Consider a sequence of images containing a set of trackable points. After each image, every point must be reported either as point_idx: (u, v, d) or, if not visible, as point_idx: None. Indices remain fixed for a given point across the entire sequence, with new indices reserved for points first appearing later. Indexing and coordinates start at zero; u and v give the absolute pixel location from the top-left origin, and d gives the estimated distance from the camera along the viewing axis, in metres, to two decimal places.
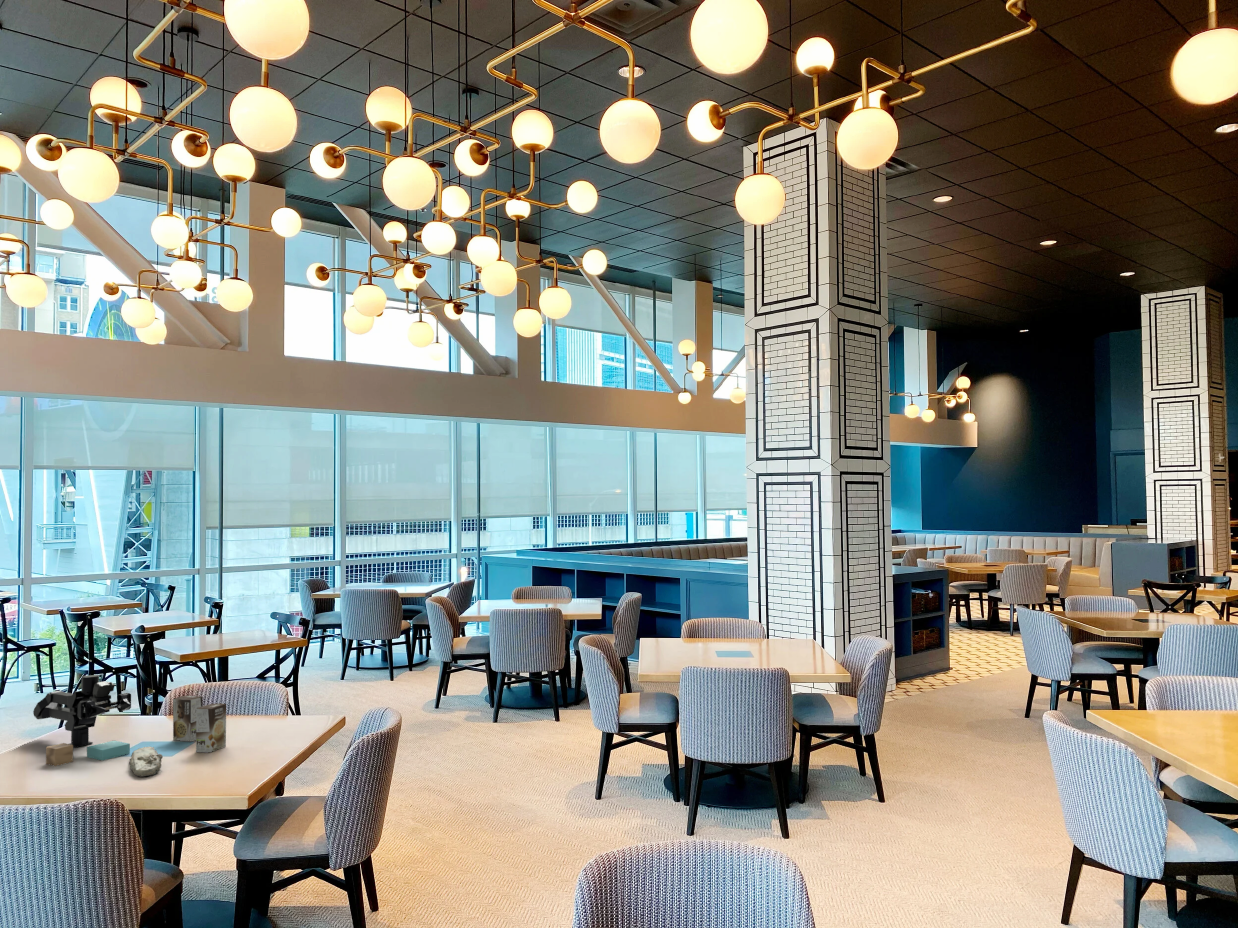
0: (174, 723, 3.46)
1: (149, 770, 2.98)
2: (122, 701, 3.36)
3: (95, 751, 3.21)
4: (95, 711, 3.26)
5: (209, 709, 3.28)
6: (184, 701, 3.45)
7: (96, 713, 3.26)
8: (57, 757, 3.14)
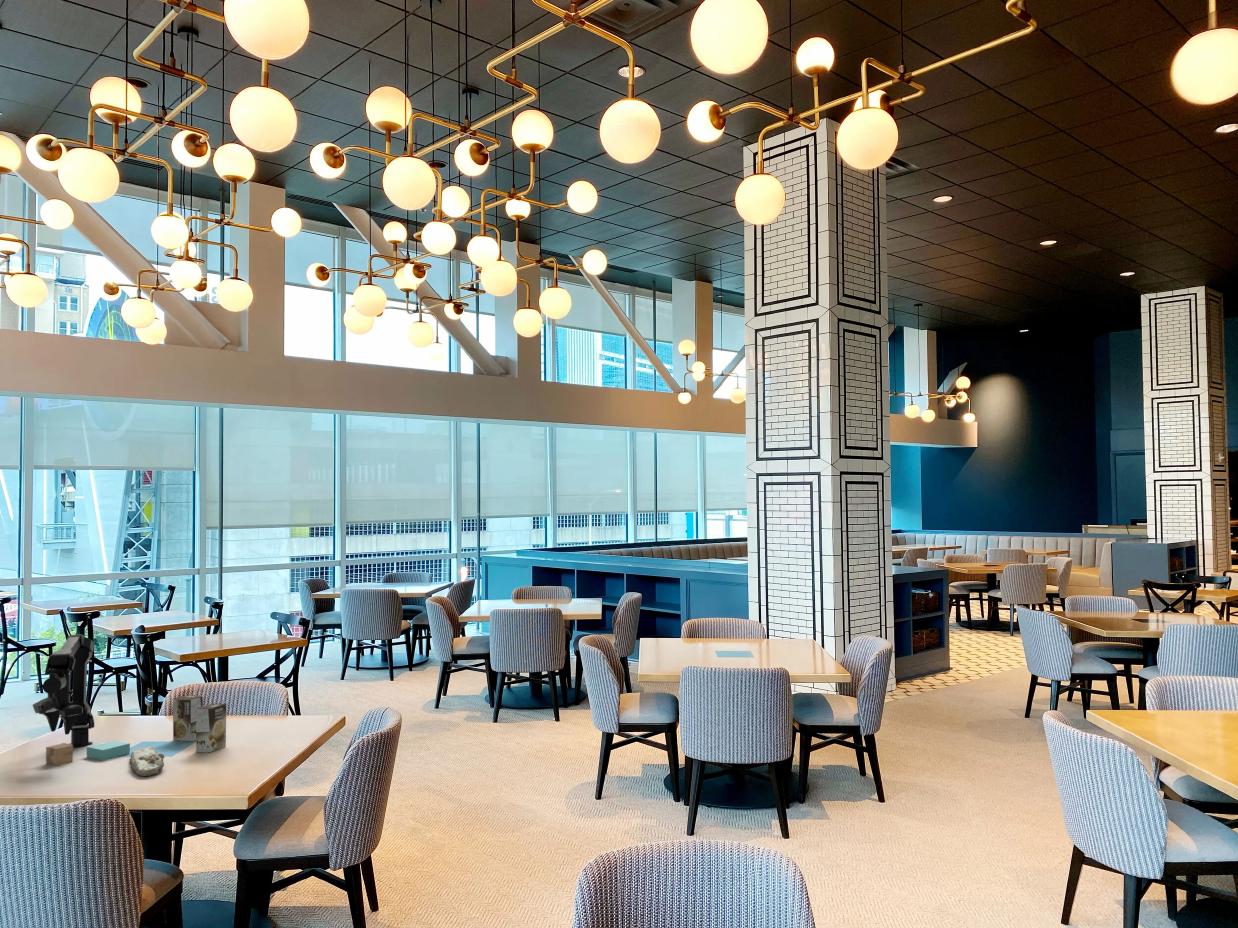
0: (174, 723, 3.46)
1: (152, 769, 2.98)
2: None
3: (95, 751, 3.21)
4: None
5: (209, 709, 3.28)
6: (184, 701, 3.45)
7: None
8: (57, 757, 3.14)
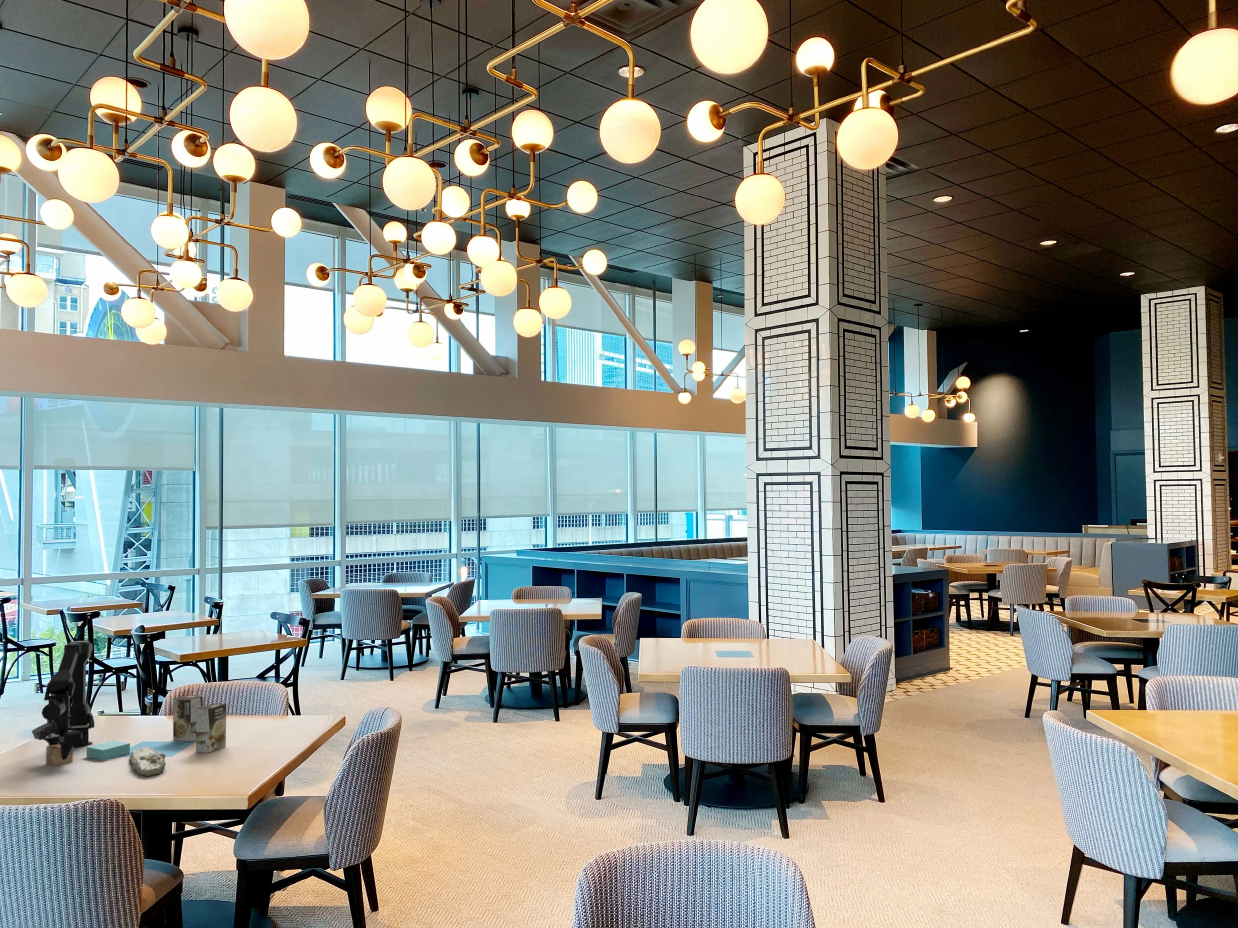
0: (174, 723, 3.46)
1: (155, 769, 2.98)
2: None
3: (95, 751, 3.21)
4: None
5: (209, 709, 3.28)
6: (184, 701, 3.45)
7: None
8: (57, 757, 3.14)
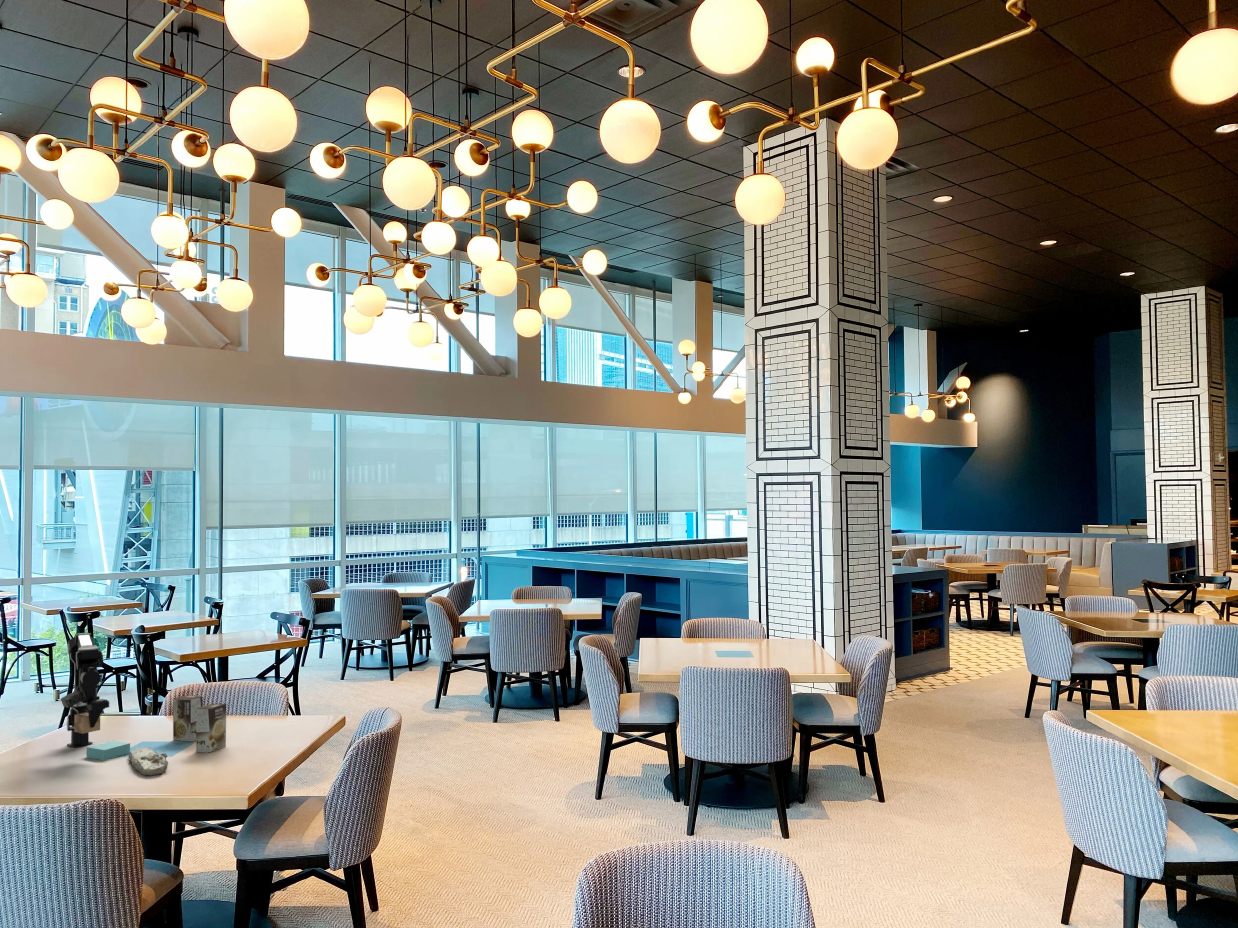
0: (174, 723, 3.46)
1: (158, 769, 2.99)
2: None
3: (96, 751, 3.21)
4: None
5: (209, 709, 3.28)
6: (184, 701, 3.45)
7: None
8: (85, 725, 3.19)
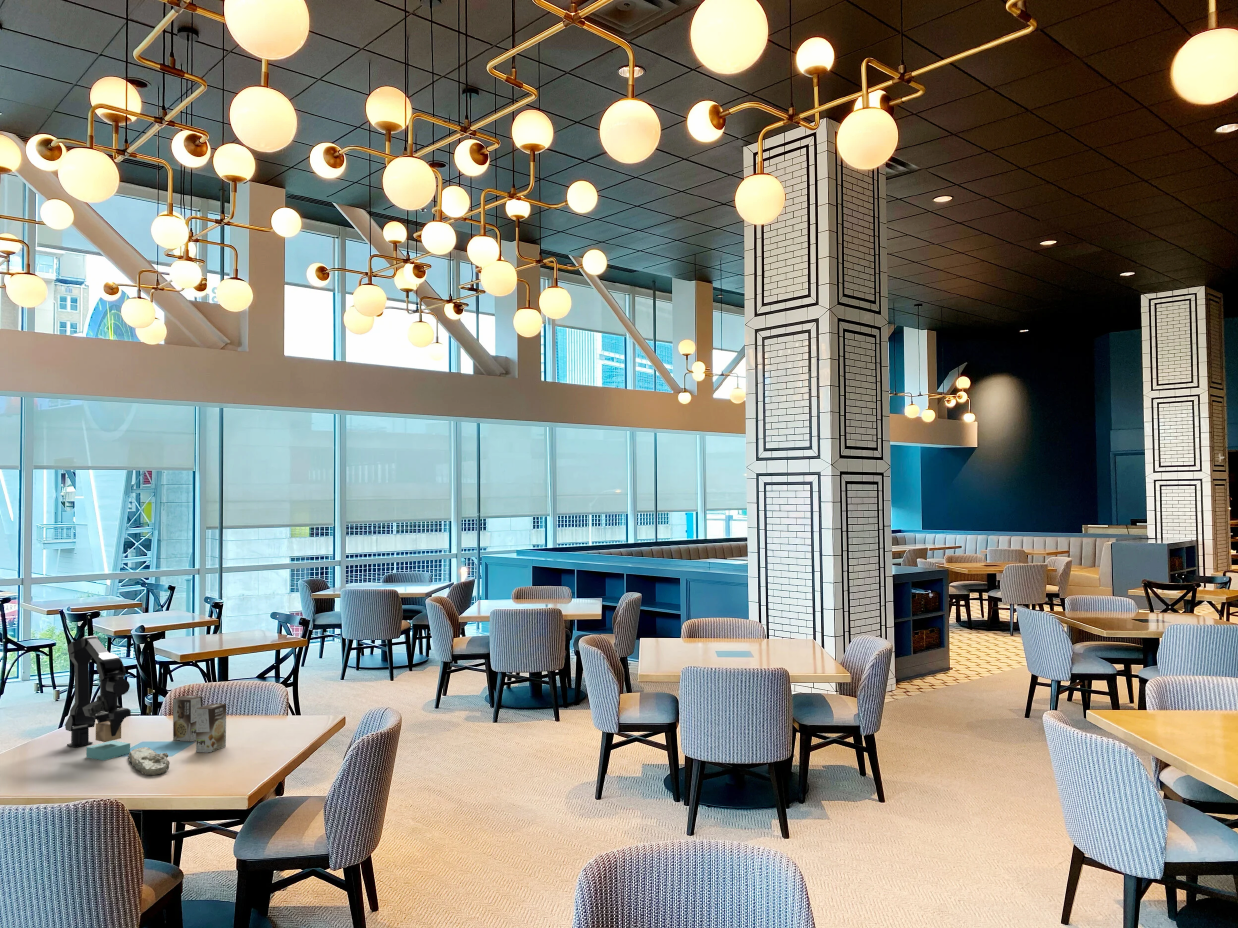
0: (174, 723, 3.46)
1: (160, 768, 2.99)
2: None
3: (96, 751, 3.21)
4: None
5: (209, 709, 3.28)
6: (184, 701, 3.45)
7: None
8: (106, 734, 3.23)
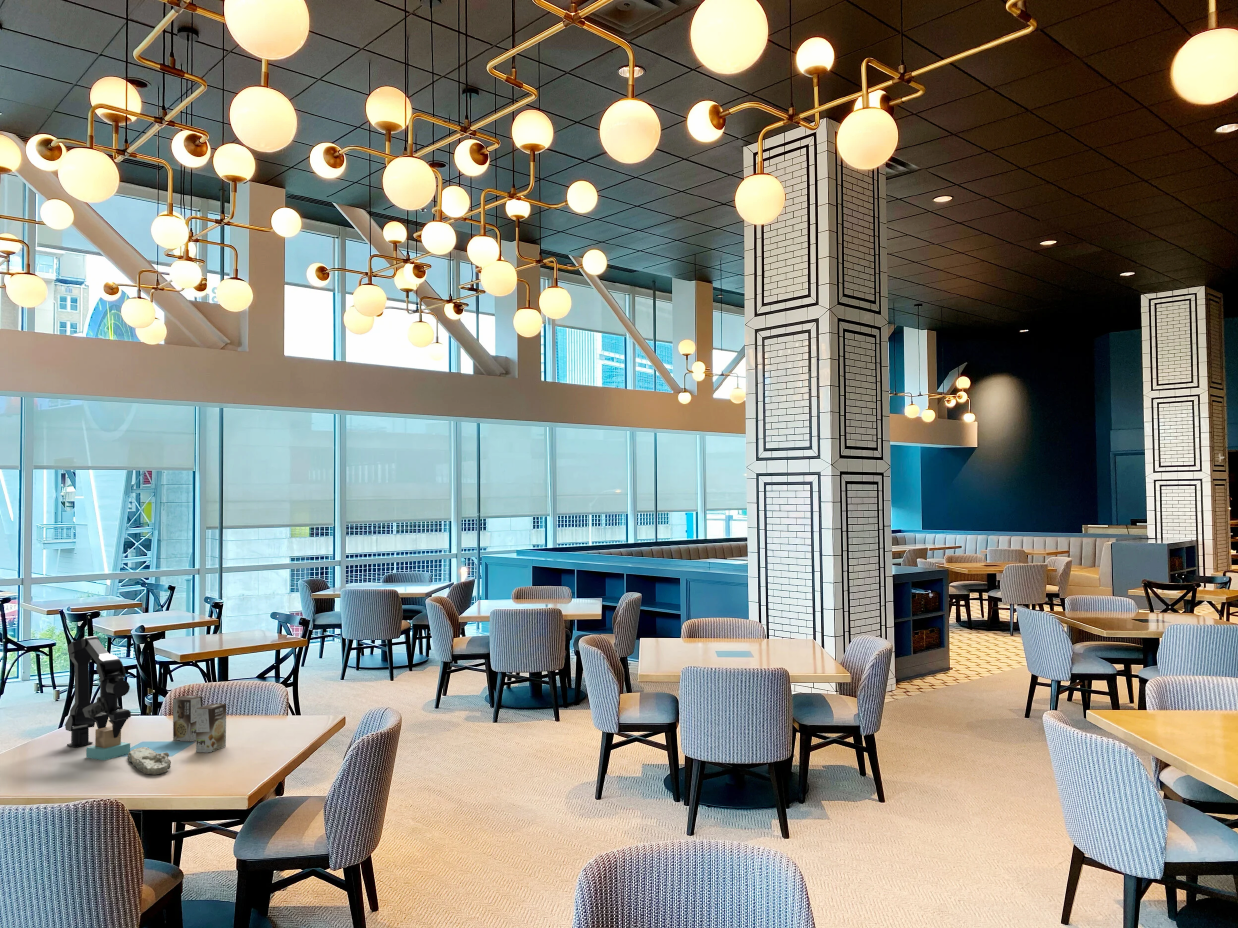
0: (174, 723, 3.46)
1: (162, 768, 3.00)
2: None
3: (96, 751, 3.21)
4: None
5: (209, 709, 3.28)
6: (184, 701, 3.45)
7: None
8: (106, 740, 3.23)
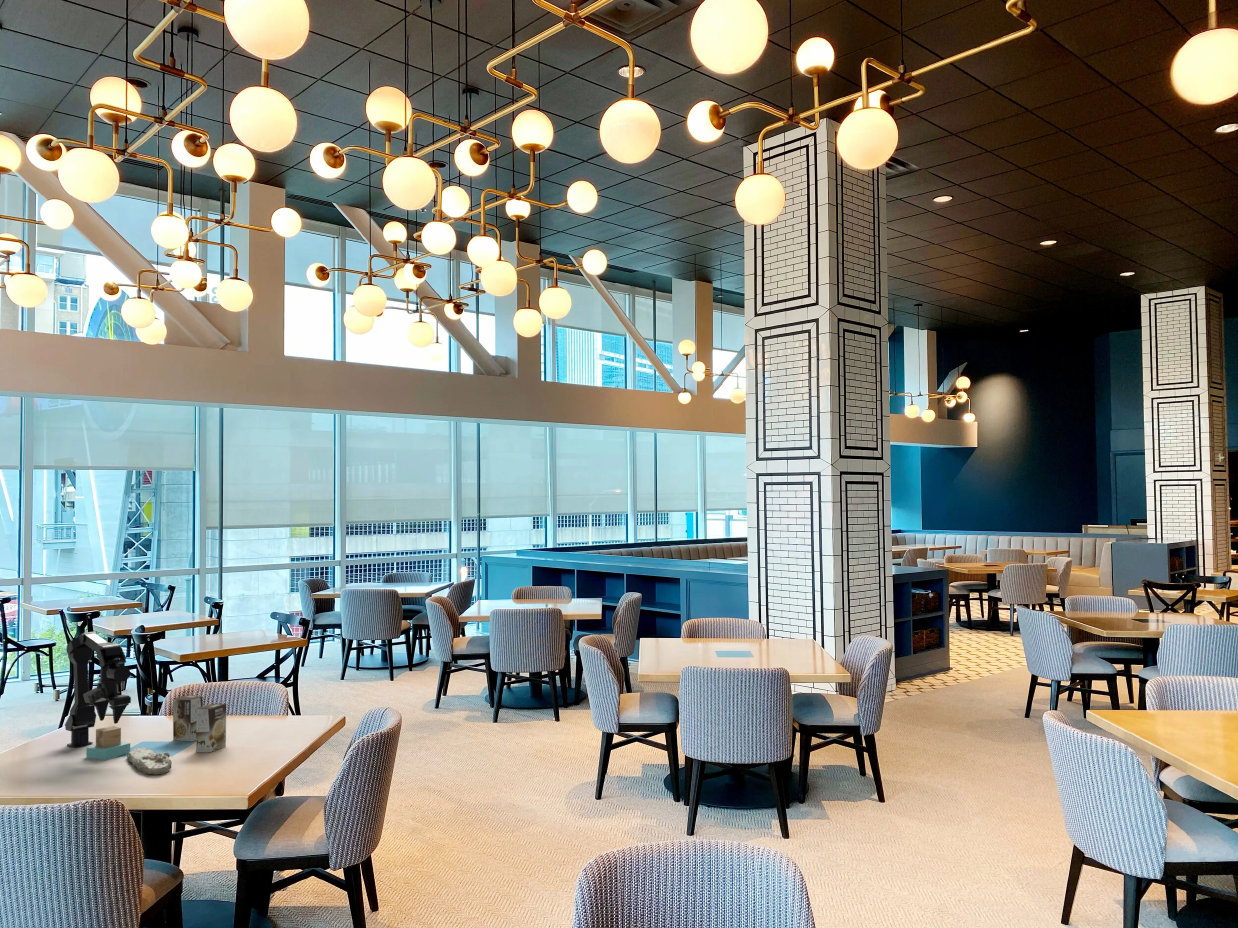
0: (174, 723, 3.46)
1: (163, 768, 3.00)
2: None
3: (96, 751, 3.21)
4: None
5: (209, 709, 3.28)
6: (184, 701, 3.45)
7: None
8: (105, 740, 3.22)
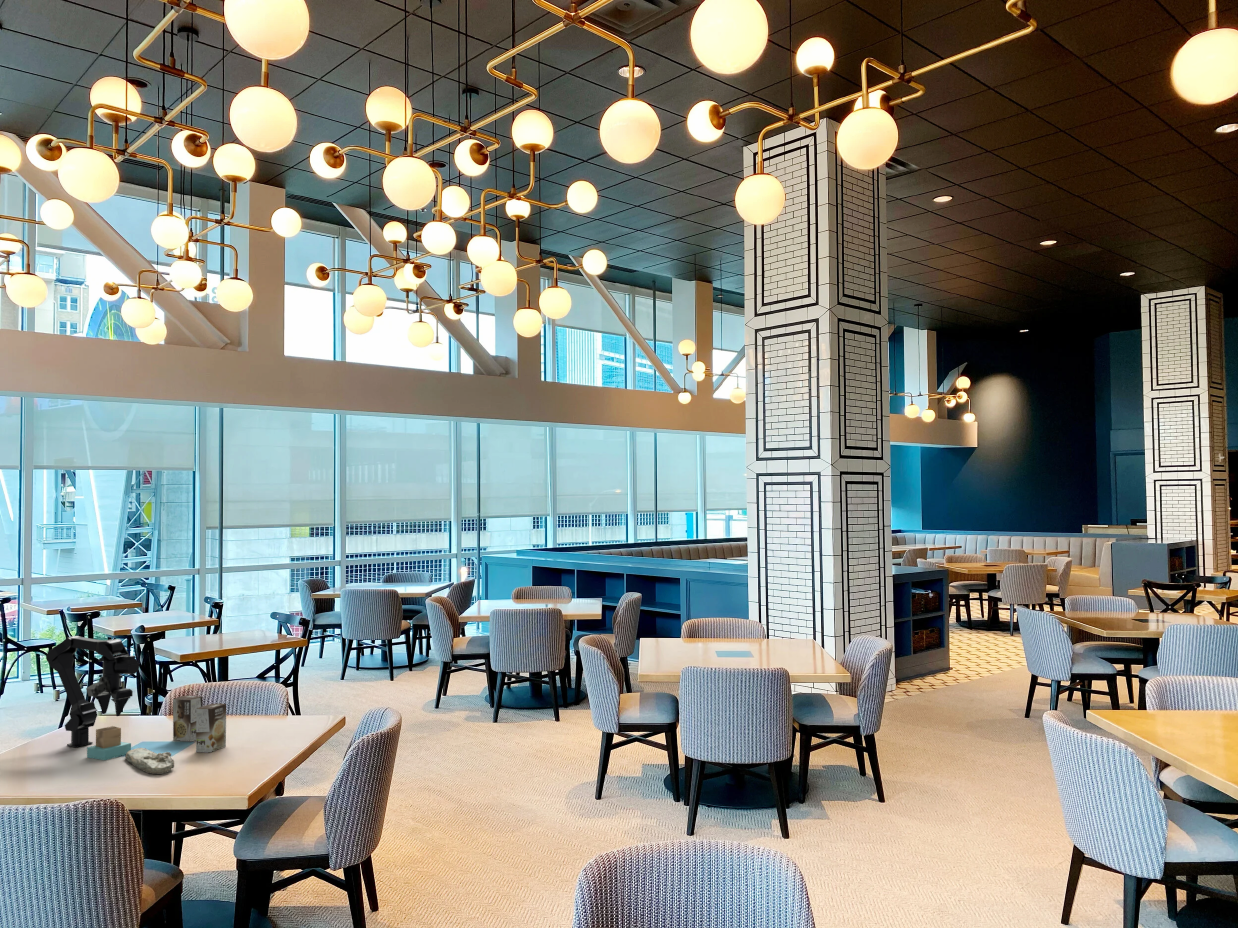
0: (174, 723, 3.46)
1: (167, 767, 3.01)
2: None
3: (97, 751, 3.21)
4: None
5: (209, 709, 3.28)
6: (184, 701, 3.45)
7: None
8: (105, 740, 3.22)
